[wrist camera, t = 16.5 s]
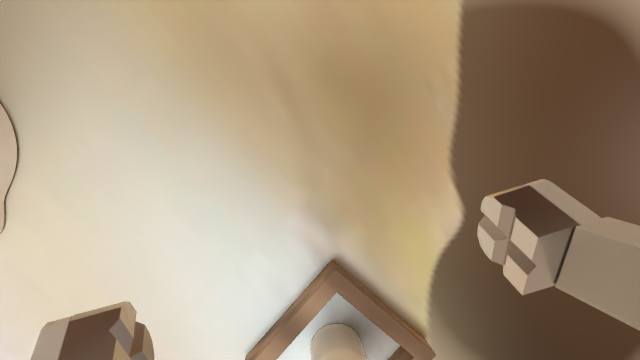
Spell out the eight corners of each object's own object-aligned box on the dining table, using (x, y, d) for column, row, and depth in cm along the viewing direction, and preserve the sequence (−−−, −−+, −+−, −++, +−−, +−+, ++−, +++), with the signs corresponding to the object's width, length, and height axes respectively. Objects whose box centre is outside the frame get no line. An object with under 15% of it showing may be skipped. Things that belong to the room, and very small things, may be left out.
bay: (341, 431, 42) (345, 454, 39) (245, 356, 40) (242, 374, 37) (425, 339, 41) (435, 355, 38) (331, 259, 40) (335, 269, 37)
